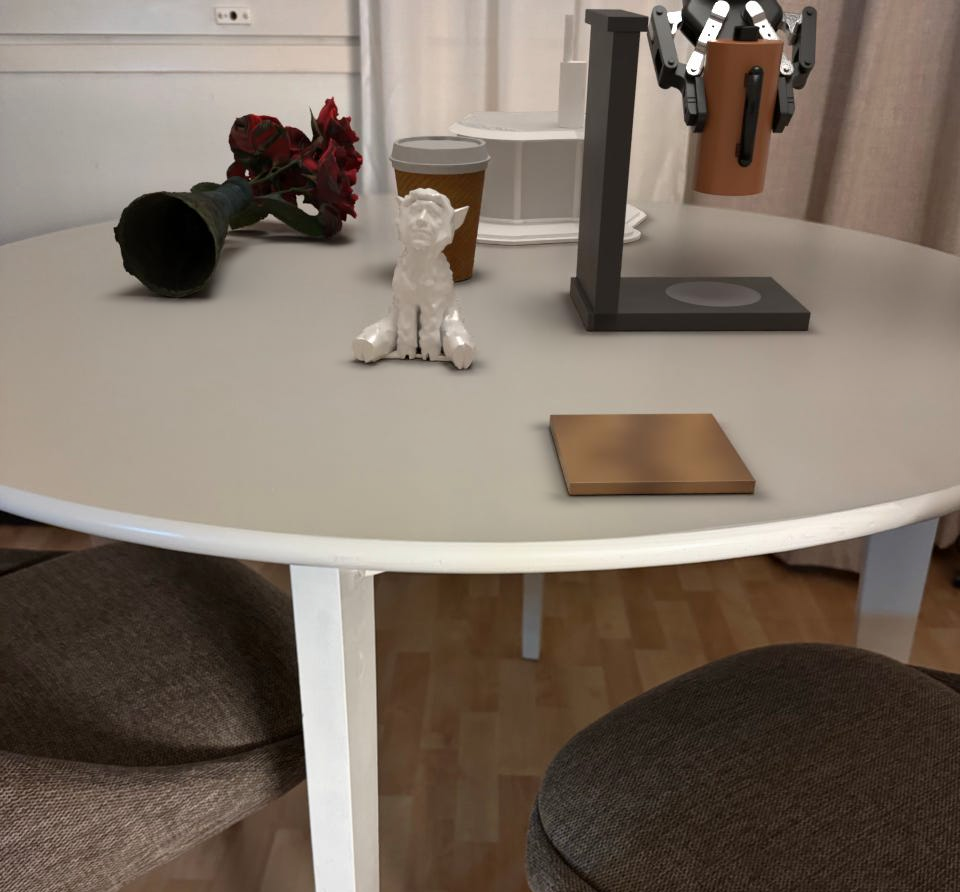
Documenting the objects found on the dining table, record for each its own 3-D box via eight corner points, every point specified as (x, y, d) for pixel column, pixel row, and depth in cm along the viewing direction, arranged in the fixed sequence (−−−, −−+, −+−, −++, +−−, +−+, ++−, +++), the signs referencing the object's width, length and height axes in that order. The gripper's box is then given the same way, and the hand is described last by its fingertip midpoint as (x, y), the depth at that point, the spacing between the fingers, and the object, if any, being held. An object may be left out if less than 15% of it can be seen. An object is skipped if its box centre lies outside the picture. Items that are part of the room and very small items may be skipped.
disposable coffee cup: (503, 269, 107) (507, 139, 101) (463, 291, 100) (463, 152, 93) (420, 259, 110) (418, 132, 104) (374, 279, 103) (369, 144, 97)
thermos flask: (752, 182, 93) (773, 24, 86) (778, 200, 86) (803, 30, 79) (684, 183, 92) (700, 23, 86) (705, 200, 86) (724, 29, 79)
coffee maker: (768, 292, 101) (811, 11, 88) (808, 330, 90) (864, 18, 78) (569, 292, 100) (585, 8, 88) (587, 331, 90) (608, 15, 77)
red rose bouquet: (201, 378, 101) (297, 267, 129) (334, 255, 93) (407, 165, 121) (70, 246, 95) (201, 160, 123) (200, 101, 87) (309, 44, 115)
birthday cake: (365, 215, 129) (356, 9, 117) (533, 188, 145) (539, 5, 133) (540, 261, 110) (550, 22, 98) (710, 225, 126) (735, 15, 115)
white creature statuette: (350, 363, 82) (341, 197, 75) (375, 331, 89) (369, 176, 82) (472, 370, 81) (473, 202, 74) (487, 337, 88) (490, 181, 81)
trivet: (710, 424, 72) (712, 413, 72) (754, 493, 63) (756, 480, 62) (549, 425, 71) (549, 414, 71) (569, 495, 62) (569, 482, 62)
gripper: (647, -88, 85) (662, 93, 82) (824, -87, 86) (845, 93, 82) (631, -13, 93) (643, 157, 89) (793, -12, 93) (812, 156, 90)
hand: (740, 125), depth 86 cm, fingers closed on thermos flask, 6 cm apart
